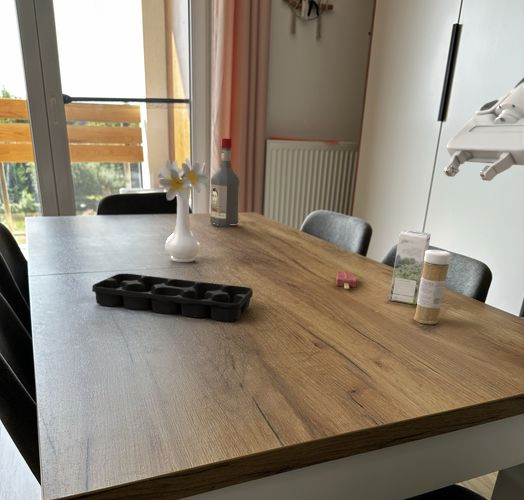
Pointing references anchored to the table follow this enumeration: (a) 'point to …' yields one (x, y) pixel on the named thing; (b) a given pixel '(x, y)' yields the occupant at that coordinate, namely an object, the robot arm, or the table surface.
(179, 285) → the egg carton
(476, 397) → the table surface
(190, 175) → the flower vase
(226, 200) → the liquor
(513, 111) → the robot arm
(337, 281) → the popsicle
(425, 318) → the spice jar
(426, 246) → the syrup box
